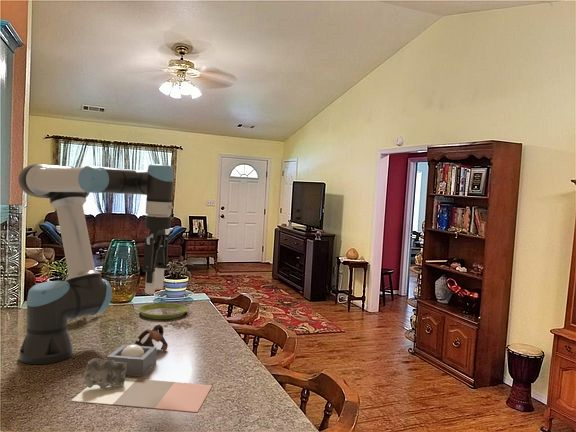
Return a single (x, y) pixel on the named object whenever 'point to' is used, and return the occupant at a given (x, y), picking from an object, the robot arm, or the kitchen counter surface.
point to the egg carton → (105, 373)
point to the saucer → (162, 305)
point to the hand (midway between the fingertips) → (154, 290)
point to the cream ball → (133, 351)
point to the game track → (148, 395)
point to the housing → (136, 360)
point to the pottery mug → (153, 337)
